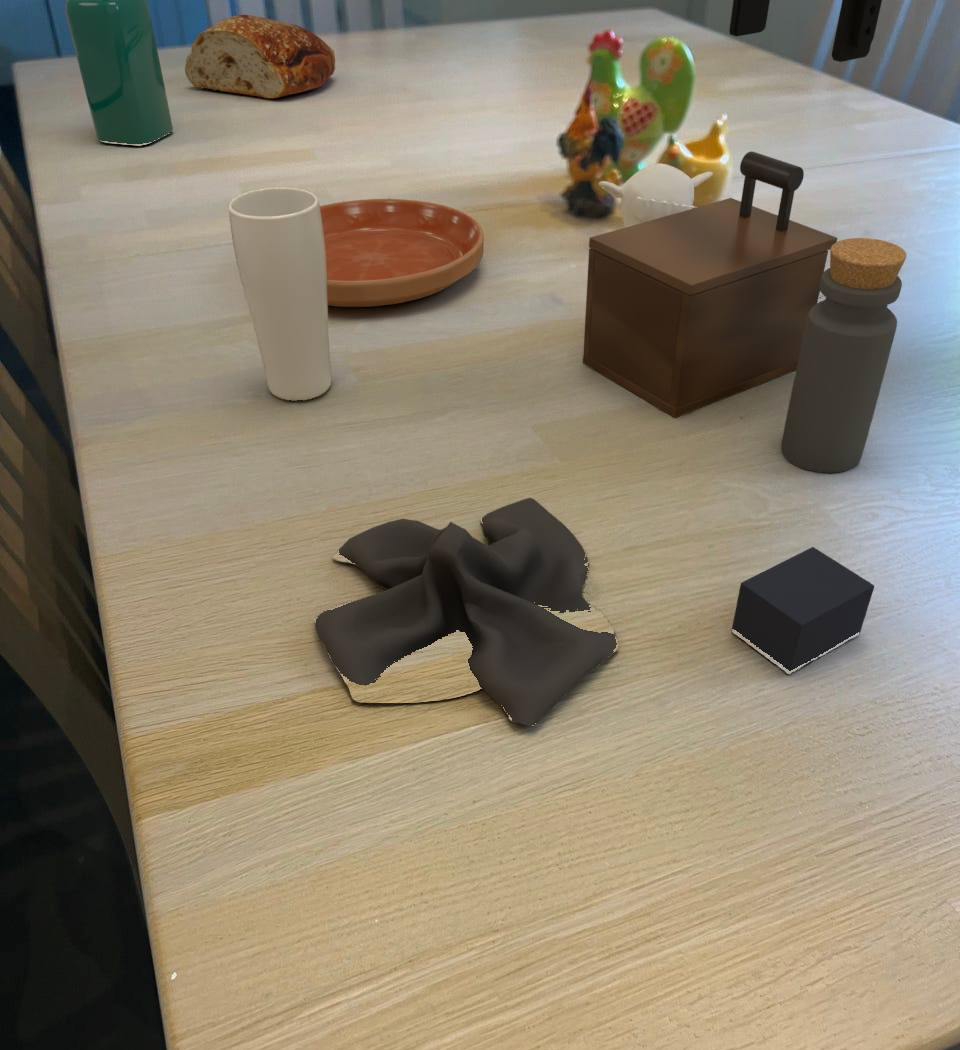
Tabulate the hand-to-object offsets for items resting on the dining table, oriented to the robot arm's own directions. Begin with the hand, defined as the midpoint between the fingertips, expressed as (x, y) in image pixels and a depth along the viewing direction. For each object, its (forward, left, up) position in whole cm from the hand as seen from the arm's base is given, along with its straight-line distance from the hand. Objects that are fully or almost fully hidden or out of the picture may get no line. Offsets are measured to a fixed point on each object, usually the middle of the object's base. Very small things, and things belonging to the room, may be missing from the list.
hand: (796, 45), depth 73 cm
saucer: (+18, -34, -24) cm, 45 cm away
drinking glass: (+35, -16, -24) cm, 45 cm away
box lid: (+5, 0, -13) cm, 14 cm away
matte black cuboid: (+25, +29, -23) cm, 44 cm away
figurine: (-9, -22, -24) cm, 34 cm away
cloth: (+39, +15, -24) cm, 48 cm away
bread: (-7, -109, -24) cm, 112 cm away
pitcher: (+20, -95, -24) cm, 100 cm away
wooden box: (+6, 0, -23) cm, 24 cm away
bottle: (+8, +15, -24) cm, 29 cm away
